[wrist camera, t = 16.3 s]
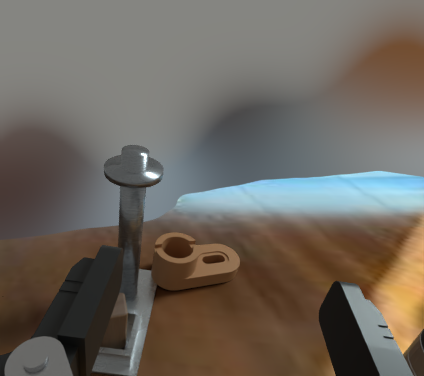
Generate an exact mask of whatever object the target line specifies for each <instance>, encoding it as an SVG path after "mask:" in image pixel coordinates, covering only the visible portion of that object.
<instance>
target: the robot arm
mask: <svg viewBox="0 0 424 376" xmlns="http://www.w3.org/2000/svg"><path fill="white" fill-rule="evenodd" d="M123 252H124V251H123V248H118V247H112V246H105V245H102V246H101V248H100V250H99V252H98V254H97V256H96V258H95V259H91V258H83V259H82V260H80V261H79V262H78V263H77V264H75V265H74V266H73V267H72V268H71V270H70V272H69V274H68V275H67V277H66V279H65V282H63V284H62V286H61V288H60V289H59V292H58V293H57V295H56V296H55V298H54V300H53V302H52V304H51V305H50V307H49V309H48V311H47V312H46V314H45V316H44V318H43V319H42V321H41V323H40V325H39V327H38V328H37V330H36V332H35V333H34V335H33V336H32V337H31V338H30V339H29V340H28V341H26V342H24V343H22V344H21V345H20V346H18V347H17V348H16V349H15V350H14V351H12V352H10V353H7V354H4V355H0V376H90V375H91V372H92V369H93V366H94V363H95V361H96V358H97V355H98V352H99V349H100V346H101V344H102V341H103V338H104V335H105V332H106V329H107V326H108V324H109V321H110V318H111V315H112V312H113V309H114V307H115V304H116V301H117V298H118V295H119V292H120V288H121V283H122V273H123ZM319 323H320V326H321V329H322V333H323V336H324V339H325V342H326V346H327V349H328V352H329V355H330V358H331V362H332V365H333V368H334V371H335V374H336V376H424V329H423V330H422V332H421V333H420V334H419V335H418V336H417V338H416V339H415V340H414V341H413V343H412V344H411V345H410V346H409V348H408V349H407V350H406V351H405V352H404V354H402V352H401V350H400V349H399V347H398V345H397V343H396V341H395V340H394V339H393V338H394V337H393V335H392V333H391V331H390V329H388V325H387V324H386V322H385V320H384V318H383V316H382V314H381V312H380V311H379V310H378V309H377V308H376V307H375V306H374V305H373V304H372V302H371V301H370V300H365V298H364V296H363V294H362V292H361V290H360V288H359V286H358V285H357V284H353V283H346V282H339V281H335V282H334V283H333V284H332V286H331V288H330V290H329V292H328V294H327V295H326V297H325V299H324V301H323V303H322V305H321V307H320V310H319Z"/></svg>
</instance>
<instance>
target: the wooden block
mask: <svg viewBox="0 0 424 376" xmlns="http://www.w3.org/2000/svg"><path fill="white" fill-rule="evenodd" d="M127 319H128V311H127V305H126V299H125V295H124V293H119V295H118V298H117V301H116V304H115V307H114V309H113V312H112V315H111V318H110V321H109V324H108V326H107V329H106V332H105V335H104V338H103V341H102V344H101V346H100V347H105V348H113V349H120V348H124V347H125V346H126V335H127Z"/></svg>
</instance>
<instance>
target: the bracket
mask: <svg viewBox="0 0 424 376" xmlns="http://www.w3.org/2000/svg"><path fill="white" fill-rule="evenodd" d="M239 264H240V259H239V256H238V255H237V253H236V252H235V251H234V250H233V249H231V248H230V247H228V246H225V245H222V244H207V245H195V240H194V239H193V238H192V237H190V236H188V235H186V234H182V233H167V234H164V235H162V236H161V237H159V238H158V239H157V241H156V244H155V250H154V257H153V264H152V270H151V275H152V279H153V280H154V282H155V283H156V284H157V285H158V286H160V287H162V288H164V289H167V290H182V289H188V288H194V287H200V286H206V285H212V284H218V283H224V282H228V281H231V280H232V279H233V278H234V277H235V276H236V273H237V270H238V267H239Z"/></svg>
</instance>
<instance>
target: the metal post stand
mask: <svg viewBox="0 0 424 376" xmlns="http://www.w3.org/2000/svg"><path fill="white" fill-rule="evenodd" d="M104 175H105V177H106V178H107V179H108V180H109V181H110V182H112V183H114V184H116V185H119V186H120V210H119V237H118V248H123V251H124V252H123V273H122V283H121V288H120V292H119V293H124V295H125V299H126V305H127V311H128V319H127V335H126V346H125V347H124V348H120V349H113V348H105V347H100V349H99V352H98V355H97V358H96V361H95V363H94V366H93V369H92V372H91V373H99V374H107V375H116V376H137V372H138V367H139V363H140V359H141V354H142V350H143V345H144V341H145V336H146V332H147V327H148V323H149V319H150V314H151V310H152V305H153V301H154V296H155V292H156V287H157V284H156V283H155V282H154V280H153V279H152V275H151V271H150V270H143V269H139V264H140V253H141V241H142V229H143V217H144V204H145V193H146V187H150V186H153V185H156V184H157V183H159V182H160V181H161V180H162V177H163V166H162V165H161V164H160V163H159V162H158V161H156V160H154V159H152V158H150V157H149V150H148V149H147V148H145V147H142V146H138V145H128V146H125V147H123V148H122V154H121V155H119V156H115V157H112V158H110V159H108V160H107V161H106V162H105V164H104Z"/></svg>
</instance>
